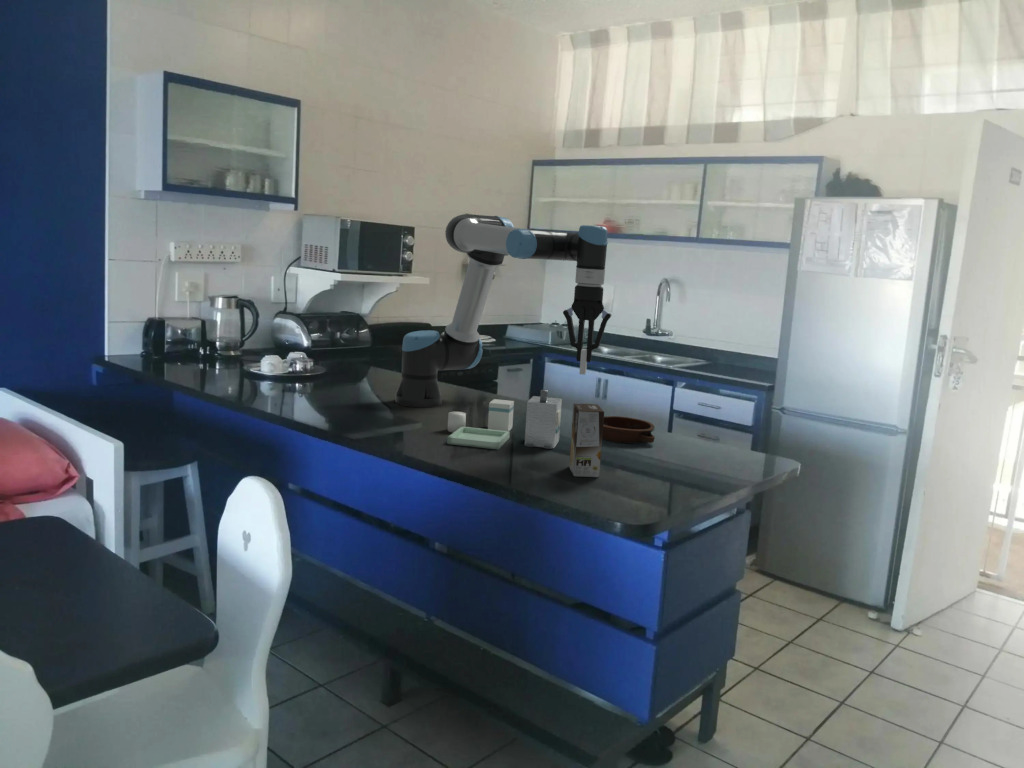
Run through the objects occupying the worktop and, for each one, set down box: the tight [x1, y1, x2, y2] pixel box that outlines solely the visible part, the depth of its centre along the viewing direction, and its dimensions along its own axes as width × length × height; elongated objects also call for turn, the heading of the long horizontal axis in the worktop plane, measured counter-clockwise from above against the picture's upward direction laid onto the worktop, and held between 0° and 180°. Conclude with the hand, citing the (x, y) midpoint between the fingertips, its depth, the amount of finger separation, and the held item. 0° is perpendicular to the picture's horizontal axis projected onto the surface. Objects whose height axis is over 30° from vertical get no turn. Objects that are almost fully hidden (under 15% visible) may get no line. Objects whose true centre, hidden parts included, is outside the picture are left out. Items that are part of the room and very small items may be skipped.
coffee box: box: [568, 403, 605, 478], centre depth 199 cm, size 9×6×16 cm
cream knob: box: [447, 411, 467, 433], centre depth 235 cm, size 5×5×5 cm
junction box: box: [524, 389, 563, 450], centre depth 226 cm, size 8×11×15 cm
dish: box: [602, 415, 656, 444], centre depth 238 cm, size 18×22×5 cm
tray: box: [446, 426, 511, 450], centre depth 225 cm, size 14×14×2 cm
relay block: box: [487, 398, 515, 432], centre depth 241 cm, size 6×6×8 cm
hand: (582, 373), depth 222 cm, fingers closed
